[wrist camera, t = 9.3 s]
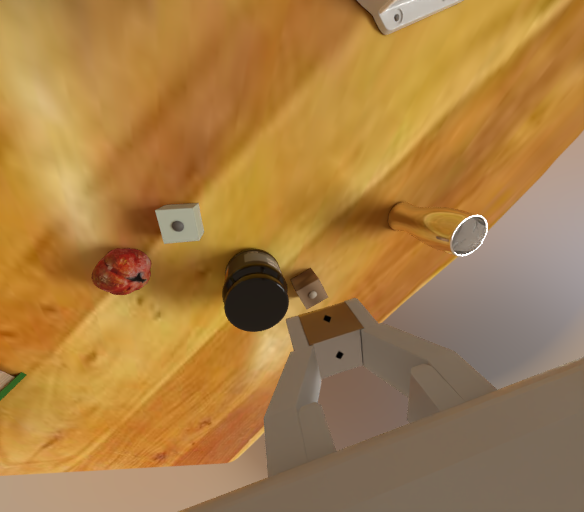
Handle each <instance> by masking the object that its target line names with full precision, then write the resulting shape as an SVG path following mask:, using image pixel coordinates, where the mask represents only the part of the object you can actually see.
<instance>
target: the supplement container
mask: <svg viewBox="0 0 584 512" xmlns="http://www.w3.org/2000/svg"><path fill="white" fill-rule="evenodd" d="M222 298H223V302H224V309H225V314H226V317H227V318H228V320H229V321H230V322H231V323H232V324H233V325H234V326H235V327H237V328H239V329H241V330H244V331H250V332H257V331H263V330H266V329H269V328H271V327H273V326H274V325H276V324H277V323H278V322H280V321H281V320H282V318H283V317H284V316H285V314H286V312H287V309H288V305H289V299H288V295H287V284H286V281H285V279H284V277H283V276H282V273H281V271H280V268H279V265H278V263H277V261H276V259H275V258H274V257H273V256H272V255H271V254H269V253H268V252H266V251H263V250H260V249H247V250H244V251H241V252H239V253H238V254H236V255H235V256H234V257H233V258H232V259H231V260H230V261H229V263H228V265H227V267H226V271H225V283H224V286H223V291H222Z"/></svg>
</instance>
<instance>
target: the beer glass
mask: <svg viewBox="0 0 584 512" xmlns="http://www.w3.org/2000/svg"><path fill="white" fill-rule="evenodd" d="M388 223H389V226H390V227H391V228H392V229H393V230H396V231H403V232H407V233H409V234H410V235H412V236H413V237H415V238H416V239H418V240H419V241H421V242H422V243H424V244H426V245H428V246H430V247H432V248H434V249H437V250H440V251H443V252H446V253H450V254H453V255H456V256H459V257H462V256H466V255H469V254H471V253H473V252H474V251H475V250H476V249H477V248H478V247H479V246H480V245H481V244H482V242H483V241H484V239H485V237H486V234H487V230H488V224H487V221H486V219H485V218H484V217H483V216H481V215H477V214H473V213H470V212H466V211H463V210H458V209H453V208H447V207H417V206H414V205H412V204H410V203H408V202H400V203H398V204H396V205H395V206H394V207H393V208H392V209H391V211H390V213H389V216H388Z"/></svg>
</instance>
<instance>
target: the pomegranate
mask: <svg viewBox="0 0 584 512" xmlns="http://www.w3.org/2000/svg"><path fill="white" fill-rule="evenodd" d="M150 268H151V261H150V259H149V258H148V257H147V255H146V254H145V253H144V252H142V251H140V250H136V249H130V248H129V249H119V248H117V249H114V250H111V251H110V252H108V254H107V255H106V256H105V257H104V258H102V259H101V260H100V261H99V262H98V264H97V265H96V267H95V269H94V270H93V273H92V281H93V282H94V284H95V285H96V286H97V287H98V288H100V289H102V290H104V291H107V292H110V293H112V294H115V295H126V294H129V293H131V292H133V291H135V290H139V289H140V288H142V287H143V286H144V285H145V284H147V283H148V280H149V278H150V276H151V272H150Z"/></svg>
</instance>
